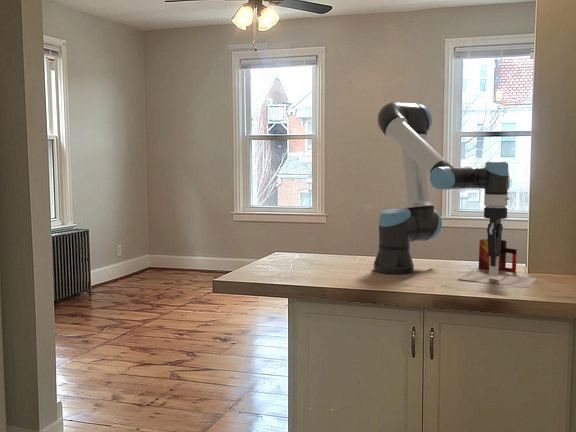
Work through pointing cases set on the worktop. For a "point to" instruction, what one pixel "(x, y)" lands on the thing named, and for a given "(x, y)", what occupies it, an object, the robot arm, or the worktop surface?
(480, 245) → the mug
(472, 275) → the plank
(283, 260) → the worktop surface
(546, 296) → the worktop surface
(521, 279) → the laid plank
